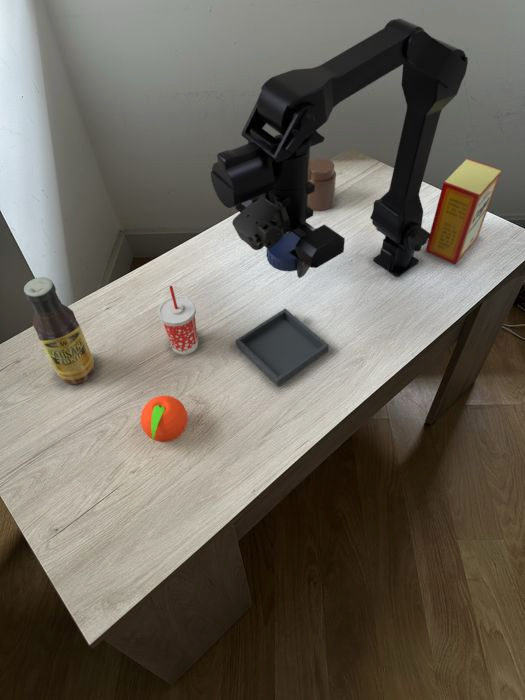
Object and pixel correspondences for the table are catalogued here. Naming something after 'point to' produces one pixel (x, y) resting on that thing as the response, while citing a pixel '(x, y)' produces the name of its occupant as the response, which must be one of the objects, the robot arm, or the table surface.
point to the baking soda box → (462, 210)
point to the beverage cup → (179, 322)
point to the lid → (283, 253)
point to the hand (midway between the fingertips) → (287, 265)
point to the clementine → (164, 418)
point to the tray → (281, 347)
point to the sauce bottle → (59, 332)
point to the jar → (322, 184)
